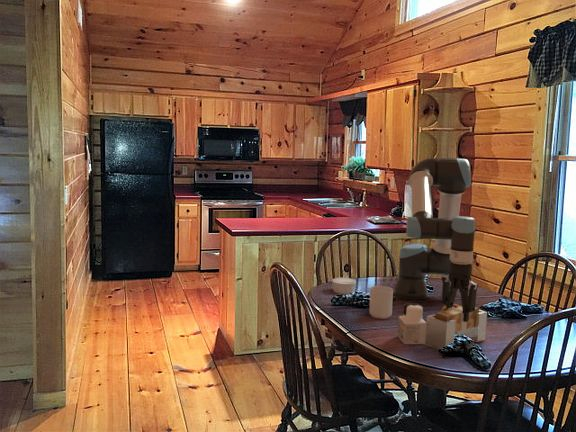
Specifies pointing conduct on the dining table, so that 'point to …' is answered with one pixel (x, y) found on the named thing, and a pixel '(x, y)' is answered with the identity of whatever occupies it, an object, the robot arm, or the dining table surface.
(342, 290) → the ramekin
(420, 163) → the robot arm
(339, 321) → the dining table surface
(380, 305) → the mug
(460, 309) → the rail
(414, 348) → the dining table surface
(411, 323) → the container
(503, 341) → the dining table surface
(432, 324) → the brackets
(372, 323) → the dining table surface
